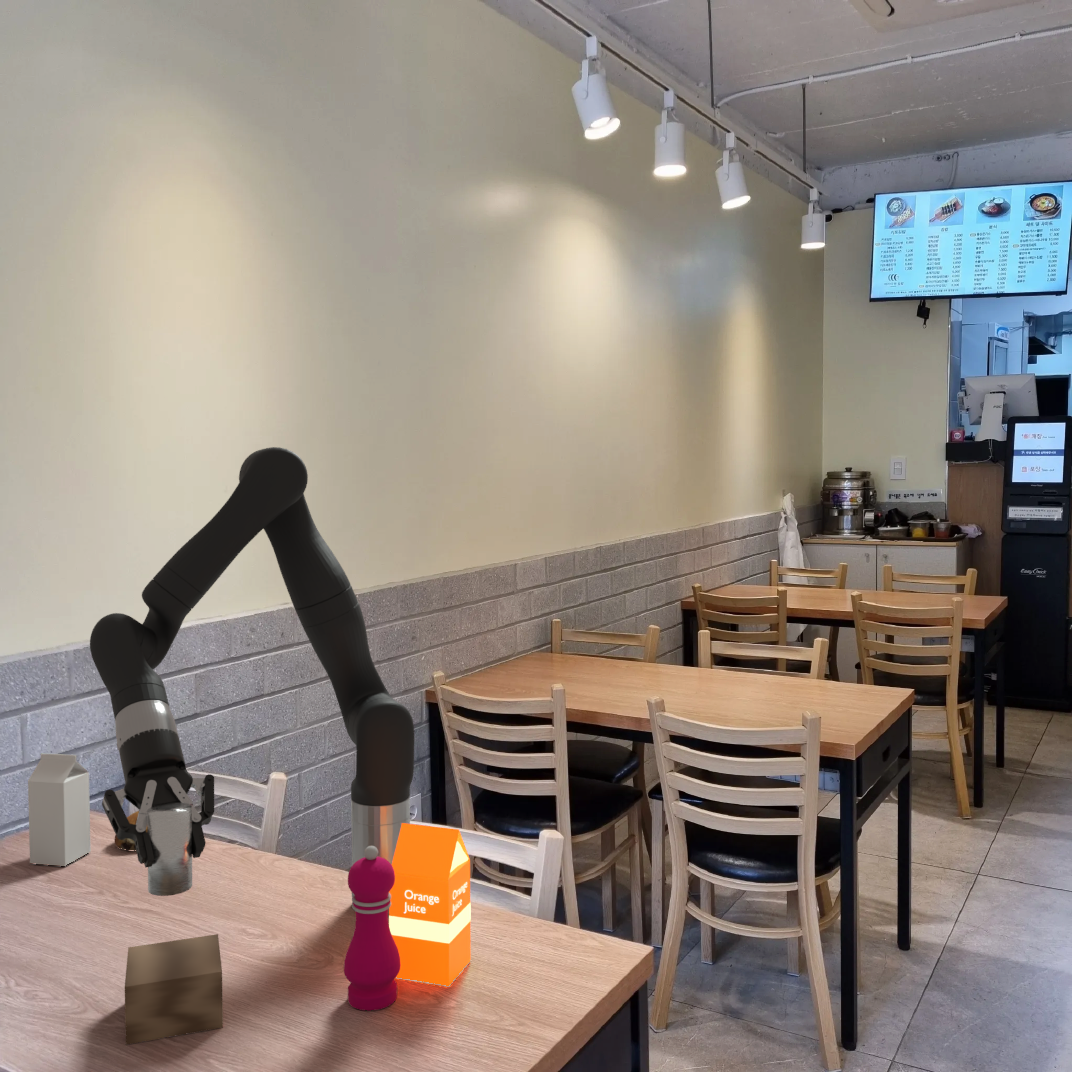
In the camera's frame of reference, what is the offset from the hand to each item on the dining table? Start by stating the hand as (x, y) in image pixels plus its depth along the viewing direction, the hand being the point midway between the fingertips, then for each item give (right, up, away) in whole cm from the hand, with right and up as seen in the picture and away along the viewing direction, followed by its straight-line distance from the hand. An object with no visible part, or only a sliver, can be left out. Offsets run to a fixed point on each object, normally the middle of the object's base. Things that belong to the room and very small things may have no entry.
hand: (174, 858), depth 123 cm
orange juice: (+30, -20, +13) cm, 39 cm away
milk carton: (-41, -18, +56) cm, 71 cm away
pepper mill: (+24, -20, +6) cm, 32 cm away
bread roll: (-29, -18, +64) cm, 72 cm away
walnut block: (-1, -20, +2) cm, 20 cm away
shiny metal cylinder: (-1, -4, +2) cm, 5 cm away
